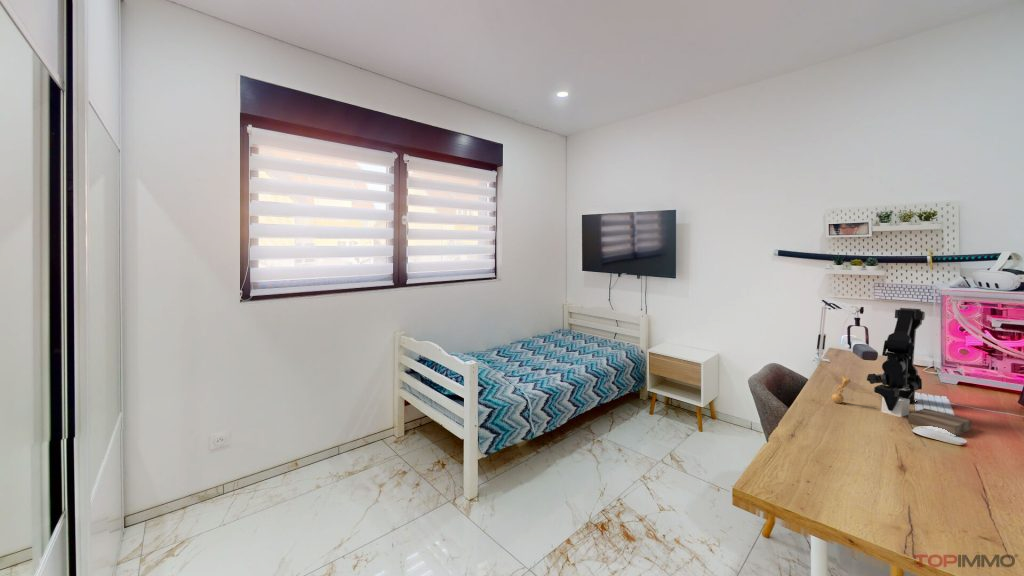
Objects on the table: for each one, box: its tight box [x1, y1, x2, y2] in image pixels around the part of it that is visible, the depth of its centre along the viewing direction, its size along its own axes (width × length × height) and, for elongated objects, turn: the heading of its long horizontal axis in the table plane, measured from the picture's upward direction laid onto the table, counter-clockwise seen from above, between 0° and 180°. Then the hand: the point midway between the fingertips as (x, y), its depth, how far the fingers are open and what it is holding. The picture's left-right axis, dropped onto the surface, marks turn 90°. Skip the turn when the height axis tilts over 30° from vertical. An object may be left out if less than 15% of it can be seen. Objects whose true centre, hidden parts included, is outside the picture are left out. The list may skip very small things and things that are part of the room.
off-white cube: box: [881, 396, 910, 418], centre depth 154 cm, size 6×6×6 cm
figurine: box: [831, 375, 851, 404], centre depth 164 cm, size 8×6×12 cm
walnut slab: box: [907, 408, 972, 436], centre depth 141 cm, size 12×12×4 cm
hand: (895, 409), depth 154 cm, fingers open, 7 cm apart
